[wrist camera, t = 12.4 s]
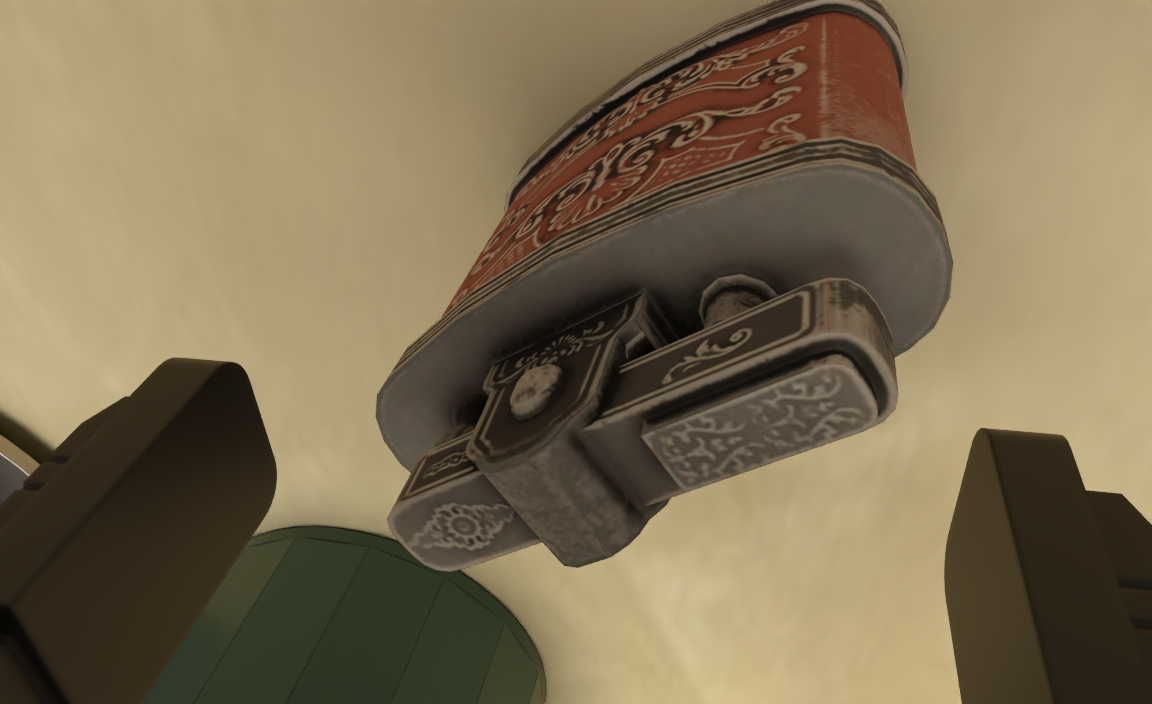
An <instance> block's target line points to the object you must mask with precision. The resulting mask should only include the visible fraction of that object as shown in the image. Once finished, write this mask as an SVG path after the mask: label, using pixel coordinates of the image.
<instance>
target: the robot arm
mask: <svg viewBox="0 0 1152 704" xmlns="http://www.w3.org/2000/svg"><path fill="white" fill-rule="evenodd" d="M276 481H277V469H276V462H275V458H274V455H273V452H272V449H271V446H270V442H269V439H268V436H267V433H266V430H265V427H264V424H263V421H262V418H261V414H260V411H259V408H258V405H257V402H256V399H255V396H254V393H253V390H252V386H251V383H250V380H249V378H248V375H247V373H246V372H245V370H244V369H243V368H242V367H241V366H240V365H239V364H237V363H234V362H225V361H213V360H201V359H190V358H170V359H168V360H166V361H164V362H163V363H162V364H161V365H159V366H158V368H157V369H156V370H155V371H154V372H153V373H152V374H151V375H150V376H149V377H148V378H147V379H146V380H145V381H144V382H143V383H142V384H141V385H140V386H139V387H138V388H137V389H136V390H135V391H134V392H133V393H132V394H131V395H130V397H127V396H125V397H124V398H122V399H120V400H119V401H117V402H116V403H114V404H112V405H111V406H109V407H107V408H106V409H104V410H102V411H101V412H99V413H98V414H96V415H94V416H93V417H91V418H89V419H88V420H86V421H84V422H83V423H81V424H80V425H79V426H78V427H77V428H76V429H75V430H74V431H73V432H72V433H71V434H70V435H69V437H68V438H67V439H66V440H65V441H64V442H63V443H62V444H61V445H60V446H59V447H58V448H57V449H56V450H55V451H54V452H53V453H52V454H51V455H50V460H49V462H43V463H42V464H41V465H40V466H39V467H38V468H37V469H36V470H35V471H34V472H33V473H32V474H31V475H30V476H29V477H28V478H27V479H26V480H25V481H24V482H23V488H22V489H21V490H17V489H16V490H15V491H14V492H13V493H12V494H11V495H10V496H9V497H8V498H7V499H6V500H5V501H4V502H3V503H2V504H1V505H0V704H142V702H143V701H144V699H145V698H146V696H147V695H148V693H149V692H150V690H151V689H152V687H153V686H154V684H155V683H156V681H157V680H158V678H159V677H160V675H161V673H162V672H163V670H164V669H165V667H166V666H167V664H168V663H169V661H170V660H171V658H172V657H173V655H174V654H175V652H176V651H177V649H178V648H179V646H180V645H181V643H182V642H183V640H184V639H185V637H186V636H187V634H188V633H189V631H190V630H191V628H192V626H193V625H194V623H195V622H196V620H197V619H198V617H199V616H200V614H201V613H202V611H203V610H204V608H205V607H206V605H207V604H208V602H209V601H210V599H211V598H212V596H213V595H214V593H215V592H216V590H217V589H218V587H219V586H220V584H221V583H222V581H223V579H224V578H225V576H226V575H227V573H228V572H229V570H230V569H231V567H232V566H233V564H234V563H235V561H236V560H237V558H238V557H239V555H240V554H241V552H242V551H243V549H244V548H245V546H246V545H247V543H248V542H249V540H250V539H251V537H252V535H253V534H254V532H255V531H256V529H257V528H258V526H259V525H260V523H261V522H262V520H263V519H264V517H265V516H266V514H267V512H268V511H269V508H270V506H271V504H272V501H273V498H274V494H275V489H276ZM944 580H945V595H946V603H947V609H948V616H949V622H950V629H951V635H952V642H953V648H954V655H955V661H956V668H957V674H958V681H959V687H960V694H961V700H962V704H1152V525H1151V524H1150V523H1149V522H1148V521H1147V520H1146V519H1145V517H1144V516H1143V515H1142V514H1141V513H1140V512H1139V511H1138V510H1137V509H1136V508H1135V507H1134V506H1133V505H1132V504H1131V503H1130V502H1129V501H1128V500H1127V499H1126V498H1125V497H1124V496H1123V495H1122V494H1118V493H1107V492H1097V491H1086V490H1085V487H1084V484H1083V482H1082V479H1081V476H1080V473H1079V470H1078V467H1077V464H1076V462H1075V459H1074V456H1073V453H1072V450H1071V447H1070V445H1069V443H1068V441H1067V439H1066V438H1065V437H1064V436H1062V435H1057V434H1045V433H1033V432H1021V431H1010V430H998V429H986V428H981V429H979V430H978V431H977V433H976V435H975V437H974V439H973V442H972V446H971V449H970V453H969V457H968V461H967V465H966V469H965V472H964V476H963V480H962V484H961V488H960V492H959V495H958V499H957V503H956V507H955V511H954V515H953V518H952V522H951V526H950V530H949V534H948V539H947V545H946V553H945V569H944Z"/></svg>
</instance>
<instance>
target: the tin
mask: <svg viewBox="0 0 1152 704" xmlns="http://www.w3.org/2000/svg"><path fill="white" fill-rule="evenodd" d="M545 696H546V680H545V676H544V671H543V666H542V663H541V661H540V658H539V656H538V653H537V651H536V648H535V647H534V645H533V643H532V642H531V640H530V638H529V637H528V635H527V633H526V632H525V631H524V629H523V628H522V627H521V626H520V624H519V623H518V622H517V620H516V619H515V618H514V617H513V616H512V615H511V614H510V613H509V612H508V611H507V610H506V609H505V608H504V607H503V605H502V604H501V603H500V602H499V601H498V600H496V599H495V598H494V597H493V596H491V595H490V594H489V593H488V592H487V591H485V590H484V589H483V588H482V587H481V586H479V585H478V584H476V583H475V582H473V581H472V580H471V579H469V578H468V577H466V576H465V575H463V574H462V573H460V572H459V571H457V570H456V571H451V572H450V571H441V570H435V569H433V568H431V567H429V566H426V565H424V564H423V563H421V562H420V561H419V560H418V559H417V558H415V557H414V556H413V555H412V554H411V553H410V552H409V551H408V550H407V549H406V548H405V547H404V546H403V545H402V544H400V543H397V542H394V541H392V540H389V539H385V538H381V537H377V536H374V535H370V534H366V533H361V532H356V531H350V530H344V529H336V528H324V527H299V528H290V529H283V530H276V531H273V532H269V533H266V534H262V535H259V536H257V537H255V538H253V539H250V540H249V542H248V543H247V545H246V546H245V548H244V549H243V551H242V552H241V554H240V555H239V557H238V558H237V560H236V561H235V563H234V564H233V566H232V567H231V569H230V570H229V572H228V573H227V575H226V576H225V578H224V579H223V581H222V583H221V584H220V586H219V587H218V589H217V590H216V592H215V593H214V595H213V596H212V598H211V599H210V601H209V602H208V604H207V605H206V607H205V608H204V610H203V611H202V613H201V614H200V616H199V617H198V619H197V620H196V622H195V623H194V625H193V626H192V628H191V630H190V631H189V633H188V634H187V636H186V637H185V639H184V640H183V642H182V643H181V645H180V646H179V648H178V649H177V651H176V652H175V654H174V655H173V657H172V658H171V660H170V661H169V663H168V664H167V666H166V667H165V669H164V670H163V672H162V673H161V675H160V677H159V678H158V680H157V681H156V683H155V684H154V686H153V687H152V689H151V690H150V692H149V693H148V695H147V696H146V698H145V699H144V701H143V702H142V704H544V701H545Z"/></svg>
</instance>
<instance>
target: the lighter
mask: <svg viewBox="0 0 1152 704" xmlns="http://www.w3.org/2000/svg"><path fill="white" fill-rule="evenodd" d="M907 67H908V66H907V61H906V57H905V53H904V49H903V45H902V42H901V39H900V35H899V32H898V29H897V25H896V24H895V22H894V21H893V20H892V18H891V17H890V16H889V14H888V13H887V11H886V10H885V9H884V7H883V6H882V5H881V4H880V3H879V2H877V1H876V0H778V1H776V2H773V3H770V4H768V5H765V6H763V7H760V8H757V9H755V10H752V11H750V12H747V13H744V14H742V15H739V16H737V17H734V18H731V19H729V20H726V21H724V22H722V23H720V24H718V25H716V26H714V27H712V28H711V29H709V30H707V31H705V32H703V33H701V34H699V35H697V36H695V37H693V38H692V39H690V40H688V41H686V42H684V43H682V44H680V45H678V46H676V47H674V48H673V49H671V50H669V51H667V52H665V53H663V54H661V55H659V56H657V57H655V58H653V59H652V60H650V61H648V62H646V63H644V64H643V65H642V66H640V67H639V68H637V69H636V70H635V71H633V72H632V73H631V74H629V75H628V76H627V77H625V78H624V79H622V80H621V81H620V82H618V83H617V84H616V85H614V86H613V87H611V88H610V89H609V90H607V91H606V92H605V93H603V94H602V95H600V96H599V97H598V98H596V99H595V100H594V101H592V102H591V103H589V104H588V105H587V106H585V107H584V108H583V109H581V110H580V111H579V112H578V113H577V114H575V115H574V116H573V117H572V118H571V119H570V120H569V121H568V122H567V123H566V124H565V125H564V126H563V127H562V128H561V129H560V130H559V131H558V132H556V133H555V134H554V135H553V136H552V137H551V138H550V139H549V140H548V141H547V142H546V143H545V144H544V145H543V146H542V147H541V148H540V149H539V150H537V151H536V152H535V153H534V154H533V155H532V156H531V157H530V158H529V159H528V160H527V162H526V163H525V165H524V166H523V168H522V169H521V171H520V172H519V174H518V176H517V177H516V179H515V180H514V182H513V183H512V185H511V186H510V188H509V190H508V191H507V195H506V202H505V208H504V212H505V215H504V217H503V218H502V220H501V222H500V223H499V225H498V226H497V228H496V230H495V231H494V233H493V235H492V236H491V238H490V239H489V241H488V243H487V244H486V246H485V248H484V249H483V251H482V252H481V254H480V256H479V257H478V259H477V260H476V262H475V264H474V265H473V267H472V269H471V270H470V272H469V273H468V275H467V277H466V278H465V280H464V282H463V283H462V285H461V286H460V288H459V290H458V291H457V293H456V295H455V296H454V298H453V299H452V301H451V303H450V304H449V306H448V308H447V309H446V311H445V312H444V314H443V316H442V317H441V319H440V320H439V321H437V322H436V323H435V324H434V325H433V326H432V327H430V328H429V329H428V330H427V331H426V332H425V333H424V334H422V335H421V336H420V337H419V338H418V339H417V340H416V341H414V342H413V343H412V344H411V345H410V346H409V347H408V348H407V349H406V351H405V352H404V354H403V355H402V357H401V358H400V360H399V361H398V363H397V365H396V366H395V368H394V369H393V371H392V372H391V374H390V375H389V377H388V379H387V380H386V382H385V383H384V385H383V386H382V388H381V390H380V391H379V393H378V394H377V405H376V419H377V422H378V425H379V428H380V431H381V434H382V437H383V440H384V442H385V443H386V444H387V446H388V447H389V449H390V450H391V451H392V453H393V454H394V456H395V457H396V458H397V460H398V461H399V463H400V464H401V465H402V466H403V467H405V468H406V469H407V470H408V471H409V472H410V473H411V475H410V476H409V478H408V480H407V482H406V484H405V486H404V488H403V490H402V491H401V493H400V495H399V497H398V499H397V501H396V503H395V505H394V507H393V508H392V510H391V512H390V514H389V516H388V519H387V520H388V524H389V528H390V530H391V532H392V533H393V534H394V536H395V537H396V538H397V539H398V541H399V542H400V543H401V544H402V545H403V546H404V547H405V548H406V549H407V550H408V551H409V552H410V553H411V554H412V555H413V556H414V557H415V558H417V559H418V560H419V561H420V562H421V563H423V564H424V565H426V566H429V567H431V568H433V569H435V570H441V571H450V572H451V571H456V570H461V569H465V568H468V567H471V566H474V565H477V564H480V563H483V562H486V561H489V560H491V559H494V558H497V557H500V556H503V555H506V554H509V553H512V552H515V551H518V550H521V549H523V548H526V547H529V546H532V545H535V544H538V543H541V542H543V543H544V544H545V545H546V546H547V547H548V548H549V550H550V551H551V552H552V553H553V554H554V555H555V556H556V558H557V559H558V560H559V561H560V562H561V563H562V564H563V565H564V566H571V567H577V568H578V567H582V566H585V565H588V564H591V563H594V562H597V561H600V560H603V559H607V558H610V557H612V556H613V555H615V554H616V553H618V552H619V551H621V550H622V549H623V548H625V547H626V546H628V545H629V544H630V543H631V542H632V541H633V540H634V539H635V538H636V537H637V536H638V535H639V534H640V533H641V531H642V530H643V528H644V527H645V525H646V524H647V522H648V521H649V519H651V518H652V517H653V516H654V515H656V514H657V513H658V512H659V511H660V510H661V509H662V508H664V507H665V506H666V505H667V503H668V502H669V500H670V498H672V497H674V496H677V495H680V494H683V493H686V492H689V491H692V490H695V489H698V488H701V487H703V486H706V485H709V484H712V483H715V482H718V481H721V480H724V479H727V478H730V477H733V476H735V475H738V474H741V473H744V472H747V471H750V470H753V469H756V468H759V467H762V466H764V465H767V464H770V463H773V462H776V461H779V460H782V459H785V458H788V457H791V456H793V455H796V454H799V453H802V452H805V451H808V450H811V449H814V448H817V447H820V446H823V445H825V444H828V443H831V442H834V441H837V440H840V439H843V438H846V437H849V436H852V435H854V434H857V433H860V432H863V431H865V430H867V429H869V428H871V427H874V426H876V425H878V424H880V423H882V422H884V421H885V420H886V419H887V418H888V417H889V415H890V414H891V413H892V412H893V411H894V410H895V409H896V404H897V398H898V387H897V378H896V368H895V359H894V358H895V357H897V356H898V355H900V354H902V353H904V352H905V351H907V350H909V349H910V348H911V347H912V346H914V345H915V344H916V343H917V342H918V341H919V340H921V339H922V338H923V337H924V336H925V335H926V334H927V333H929V332H930V331H931V330H932V329H933V328H934V327H935V325H936V323H937V321H938V319H939V317H940V315H941V314H942V312H943V310H944V308H945V306H946V304H947V302H948V300H949V298H950V290H951V279H952V267H953V260H952V256H951V252H950V247H949V243H948V239H947V234H946V230H945V227H944V224H943V220H942V217H941V214H940V211H939V207H938V204H937V201H936V198H935V195H934V194H933V193H932V191H931V190H930V189H929V188H928V186H927V185H926V184H925V182H924V181H923V180H922V179H921V177H920V176H919V175H918V173H917V169H916V164H915V159H914V154H913V149H912V144H911V139H910V134H909V129H908V124H907V119H906V114H905V109H904V104H903V99H904V96H905V94H906V88H907Z"/></svg>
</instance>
